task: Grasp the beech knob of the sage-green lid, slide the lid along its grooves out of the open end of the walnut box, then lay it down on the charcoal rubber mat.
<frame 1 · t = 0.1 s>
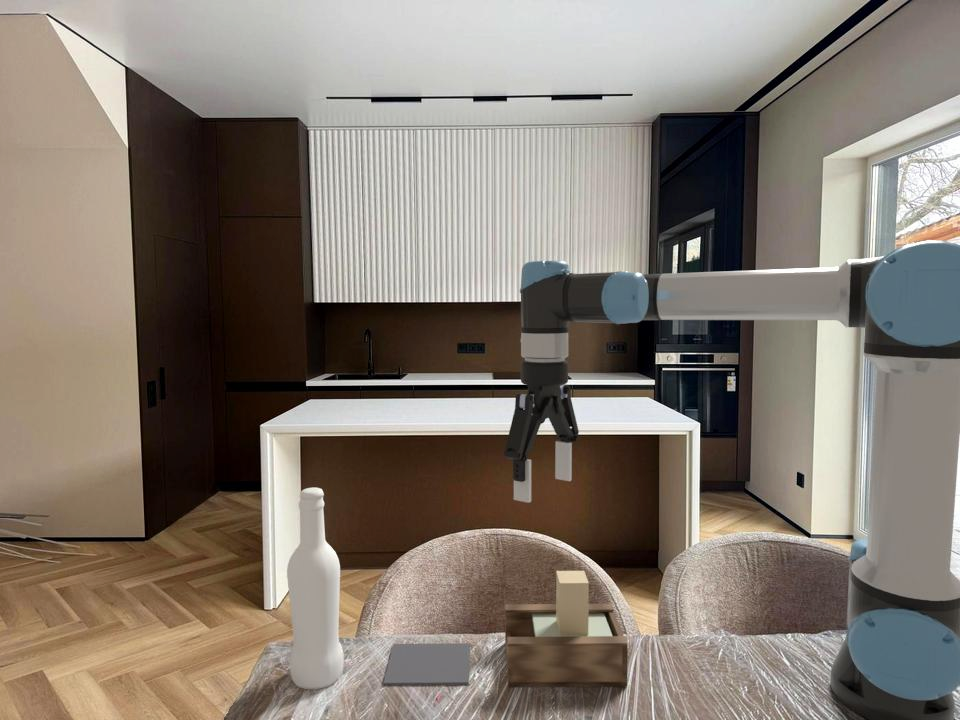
hand: (544, 489, 103), 28 cm above the table, fingers open, 13 cm apart
lid: (571, 633, 102), point 5 cm above the table, touching walnut box
bottle: (317, 677, 99), on the table
mat: (429, 664, 102), on the table
walnut box: (562, 663, 102), on the table
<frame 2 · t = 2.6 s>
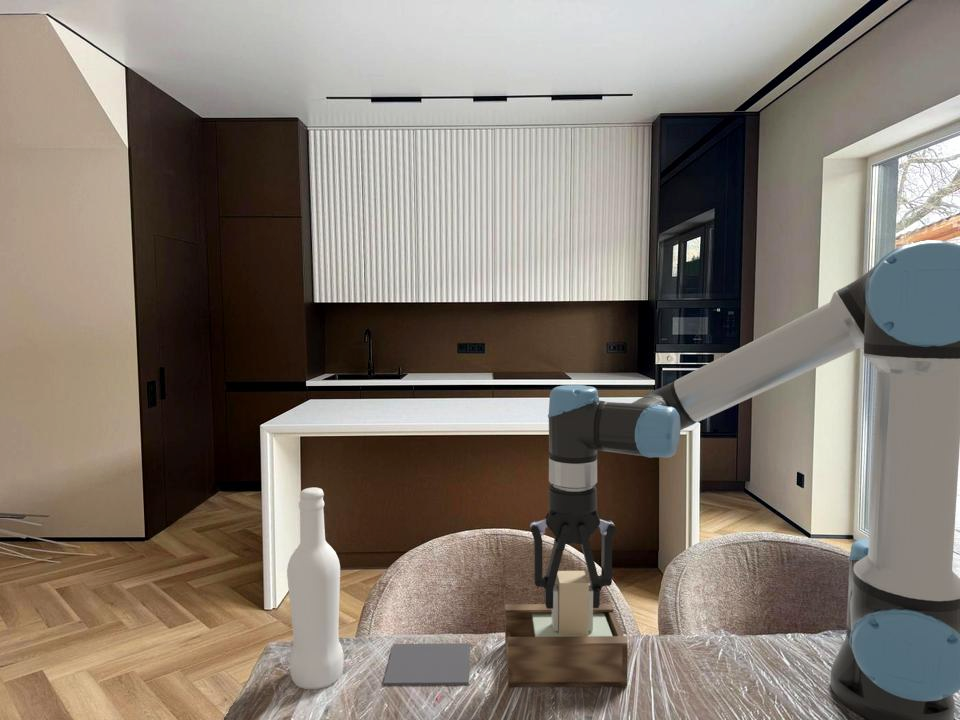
hand: (571, 626, 102), 6 cm above the table, fingers closed on lid, 5 cm apart
lid: (571, 633, 102), point 5 cm above the table, touching gripper, walnut box
everything else where it was.
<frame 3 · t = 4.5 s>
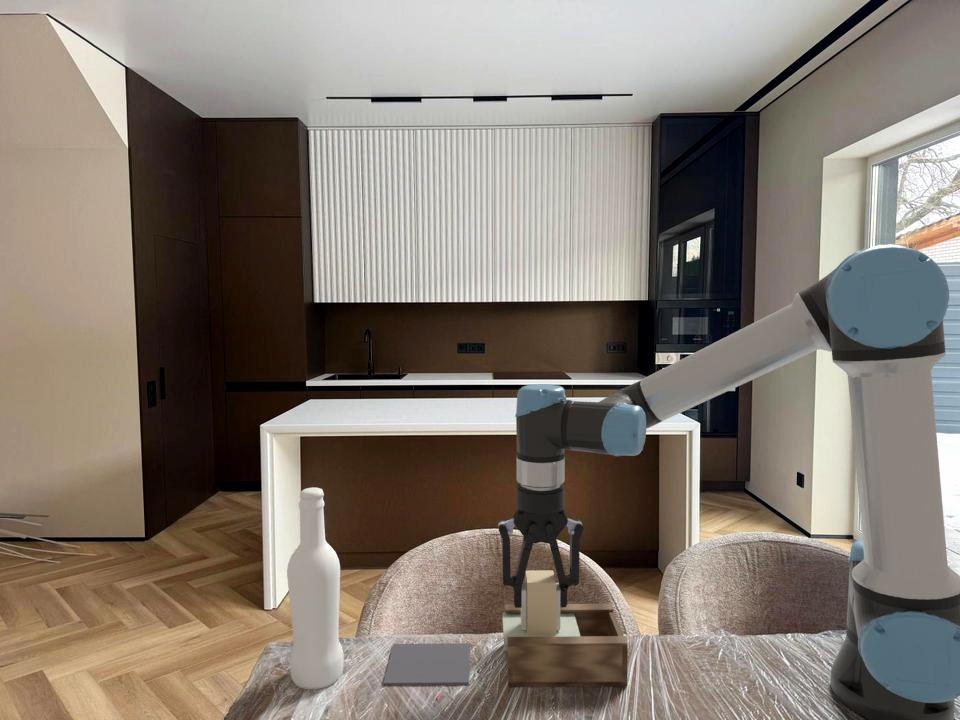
hand: (540, 625, 102), 6 cm above the table, fingers open, 5 cm apart
lid: (540, 633, 102), point 5 cm above the table, touching gripper, walnut box
everything else where it was.
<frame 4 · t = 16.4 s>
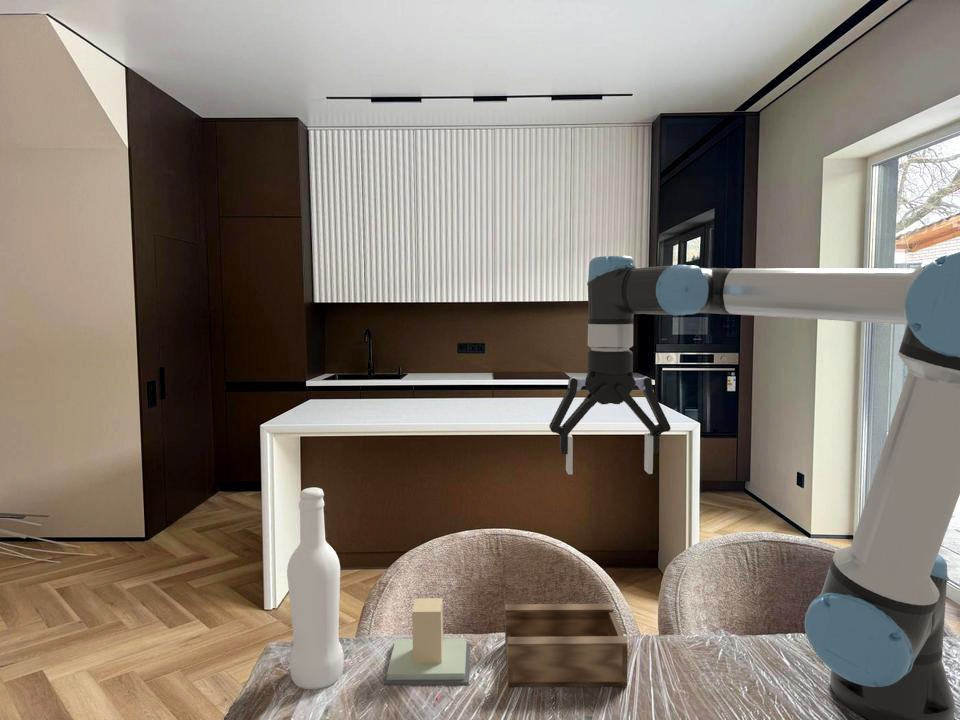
hand: (608, 472, 109), 29 cm above the table, fingers open, 13 cm apart
lid: (428, 661, 103), resting on mat
everything else where it was.
at the end: lid inside the target area on the mat (0.3 cm from its centre), point 0.4 cm above the mat's base; lid tilted 0°; the gripper is holding nothing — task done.
